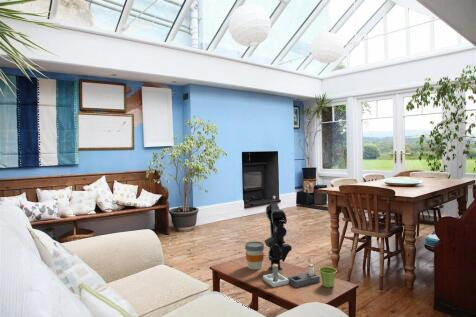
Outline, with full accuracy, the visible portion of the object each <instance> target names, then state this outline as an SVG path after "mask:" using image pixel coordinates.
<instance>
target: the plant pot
mask: <svg viewBox="0 0 476 317" xmlns="http://www.w3.org/2000/svg"><path fill="white" fill-rule="evenodd" d="M318 271H319V273H320V279H321V284H322V286H323V287H324V288H333V287H334V286H335V279H336V278H335V277H336V273H337V272H338V270H337V269H336V268H335V267H331V266H323V267H322V266H321V267H320V268H318Z"/></svg>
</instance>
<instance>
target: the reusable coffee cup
mask: <svg viewBox="0 0 476 317" xmlns="http://www.w3.org/2000/svg"><path fill="white" fill-rule="evenodd" d="M244 247H245V248H244V249H245V257H246V258H245V259H246V261H247V266H248V269H250V270H261V269H262V268H263V261H264V256H265V252H264V250H265V243H264V242H261V241H249V242H245V244H244Z"/></svg>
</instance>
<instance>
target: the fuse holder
mask: <svg viewBox="0 0 476 317" xmlns="http://www.w3.org/2000/svg"><path fill="white" fill-rule="evenodd" d="M287 279H288V280H289V284H291V285H292V286H293V287H295V288H298V287H299V288H300V287H304V286H308V285H312V284H316V283H320V281H321V275H318V274H316V273H314V276H313V277H309V276H308V272H304V273H300V274H295V275H294V274H293V275H290V276H287Z"/></svg>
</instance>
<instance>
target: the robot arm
mask: <svg viewBox="0 0 476 317" xmlns="http://www.w3.org/2000/svg"><path fill="white" fill-rule="evenodd" d="M265 214H266V218H267V220H269V225H270V226H269V228H270V237H268V238H266V239H264V245H265V246H266V247H268V248H269V250H268V251H267V259H268V260H269V261H270V266H268V268H269V269H270V271H273V267H272V265H273V264H278V271H281V270H283V268H282V267H281V261H282V262H285V260H286V259H287V256H288V254H289V253H290V252H291V251H292V250H293V249H292V248H293V247H292V245H290V244H289V243H286V241H285V237H286V236H287V229H286V228H285V226H284V225H286V224H287V221H288V220H287V215H286V213H285V211H284V210H283V209H280V206H279V203H277V202H270V203H269V205H267V206H266V207H265Z"/></svg>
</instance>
